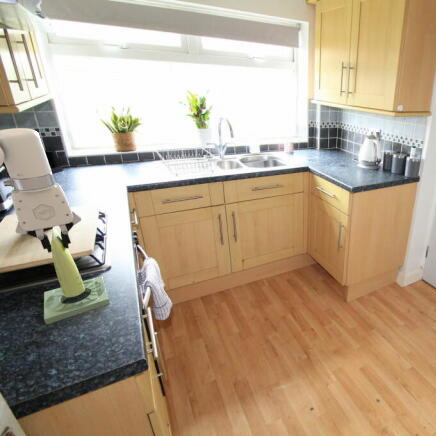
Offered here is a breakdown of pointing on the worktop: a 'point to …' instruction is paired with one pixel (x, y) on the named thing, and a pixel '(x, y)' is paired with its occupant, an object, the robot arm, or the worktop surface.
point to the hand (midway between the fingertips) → (58, 247)
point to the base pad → (59, 311)
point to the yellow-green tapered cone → (65, 267)
